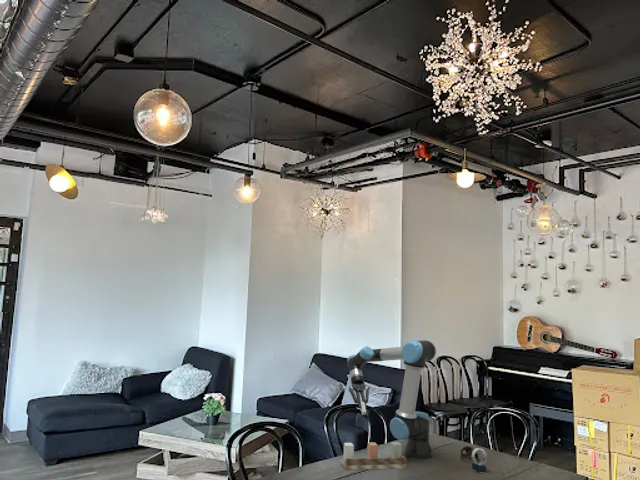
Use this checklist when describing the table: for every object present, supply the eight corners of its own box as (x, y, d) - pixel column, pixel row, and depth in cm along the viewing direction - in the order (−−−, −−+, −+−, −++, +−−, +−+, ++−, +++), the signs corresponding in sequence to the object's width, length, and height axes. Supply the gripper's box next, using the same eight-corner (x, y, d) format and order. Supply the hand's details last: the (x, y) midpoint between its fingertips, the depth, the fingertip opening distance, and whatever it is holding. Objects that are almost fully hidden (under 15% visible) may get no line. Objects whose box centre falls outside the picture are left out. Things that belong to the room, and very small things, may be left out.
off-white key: (350, 458, 247) (351, 442, 248) (353, 461, 242) (353, 445, 243) (343, 458, 246) (343, 442, 247) (345, 462, 241) (346, 445, 243)
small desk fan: (489, 472, 241) (488, 449, 243) (476, 473, 239) (476, 450, 240) (482, 468, 246) (481, 446, 248) (469, 469, 244) (469, 447, 245)
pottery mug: (482, 464, 256) (476, 451, 255) (466, 470, 257) (460, 457, 256) (476, 451, 268) (470, 439, 267) (461, 458, 269) (455, 445, 268)
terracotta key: (374, 458, 249) (374, 442, 251) (377, 461, 245) (377, 445, 246) (367, 458, 249) (367, 442, 250) (370, 461, 244) (370, 445, 245)
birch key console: (399, 461, 252) (399, 450, 253) (406, 468, 242) (406, 456, 243) (341, 463, 246) (341, 451, 247) (346, 470, 236) (346, 457, 237)
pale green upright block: (397, 457, 252) (398, 442, 253) (401, 460, 247) (401, 444, 248) (390, 457, 251) (391, 442, 252) (393, 460, 246) (394, 444, 247)
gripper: (366, 382, 288) (373, 417, 269) (344, 382, 286) (351, 417, 267) (368, 374, 284) (376, 409, 265) (347, 374, 281) (353, 409, 263)
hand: (364, 413), depth 266 cm, fingers closed
